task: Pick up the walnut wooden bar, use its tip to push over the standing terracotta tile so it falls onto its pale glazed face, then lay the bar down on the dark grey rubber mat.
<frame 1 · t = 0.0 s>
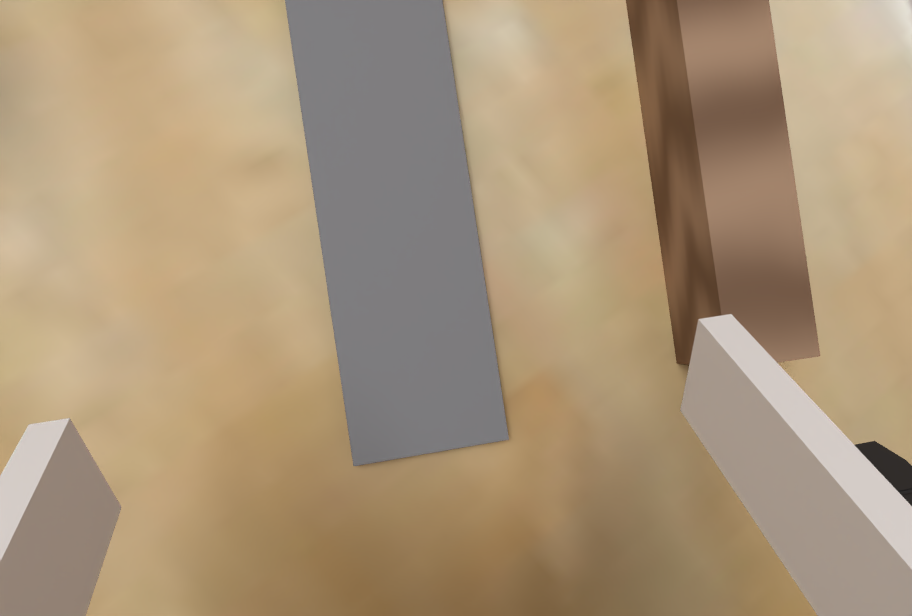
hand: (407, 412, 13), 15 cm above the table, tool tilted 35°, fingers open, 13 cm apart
walnut bar: (684, 156, 31), on the table
tool rest mat: (392, 192, 29), on the table
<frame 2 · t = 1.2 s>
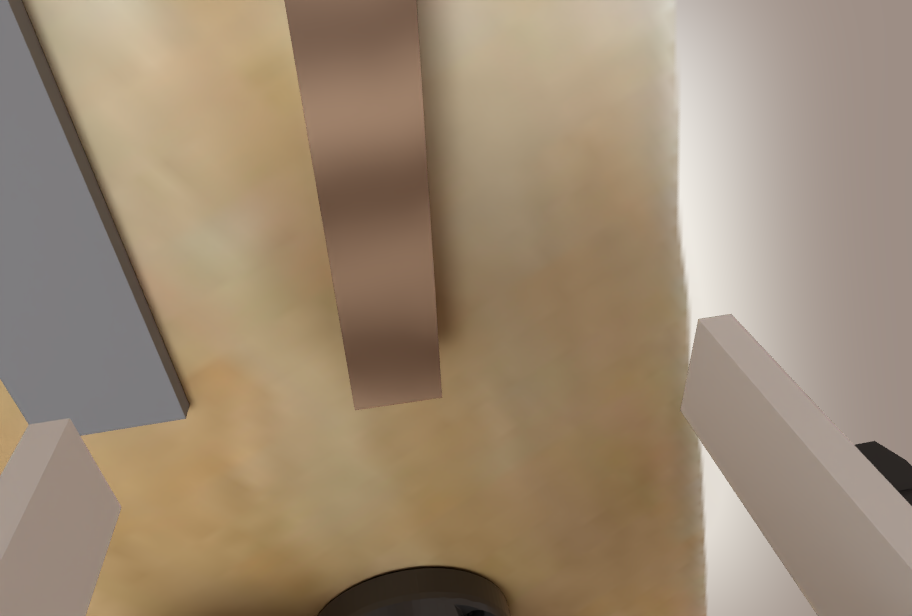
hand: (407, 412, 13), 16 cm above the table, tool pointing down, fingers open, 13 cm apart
walnut bar: (367, 155, 27), on the table
tool rest mat: (9, 201, 25), on the table
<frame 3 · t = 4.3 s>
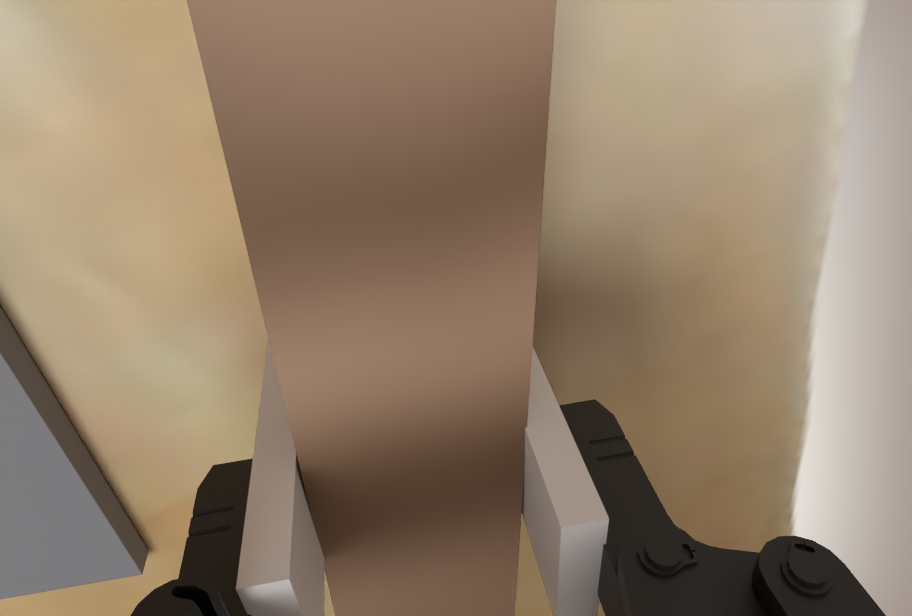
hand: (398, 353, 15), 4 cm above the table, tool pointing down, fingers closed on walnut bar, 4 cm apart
walnut bar: (395, 333, 16), point 4 cm above the table, touching gripper
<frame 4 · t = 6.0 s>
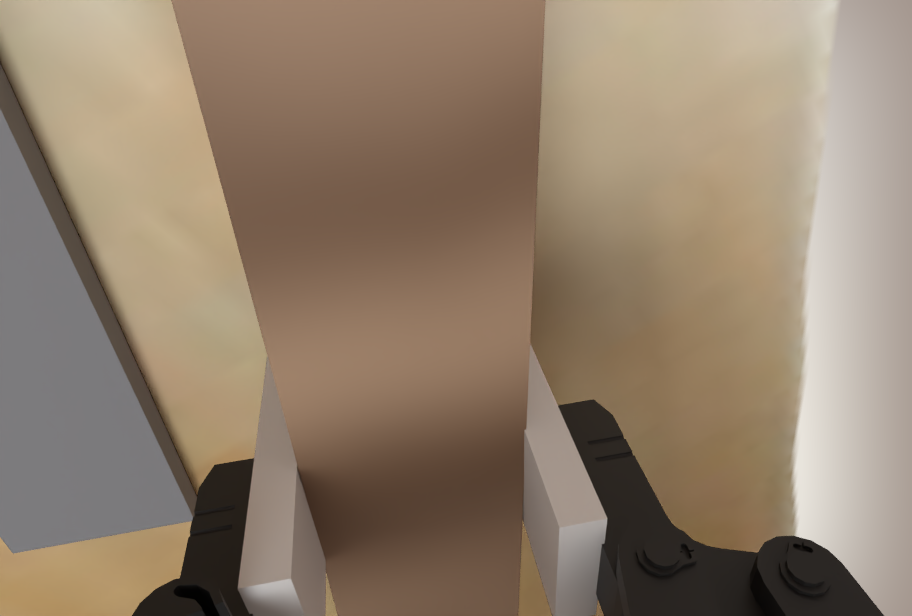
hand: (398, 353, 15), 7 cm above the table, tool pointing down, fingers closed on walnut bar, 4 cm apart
walnut bar: (395, 332, 16), point 6 cm above the table, touching gripper
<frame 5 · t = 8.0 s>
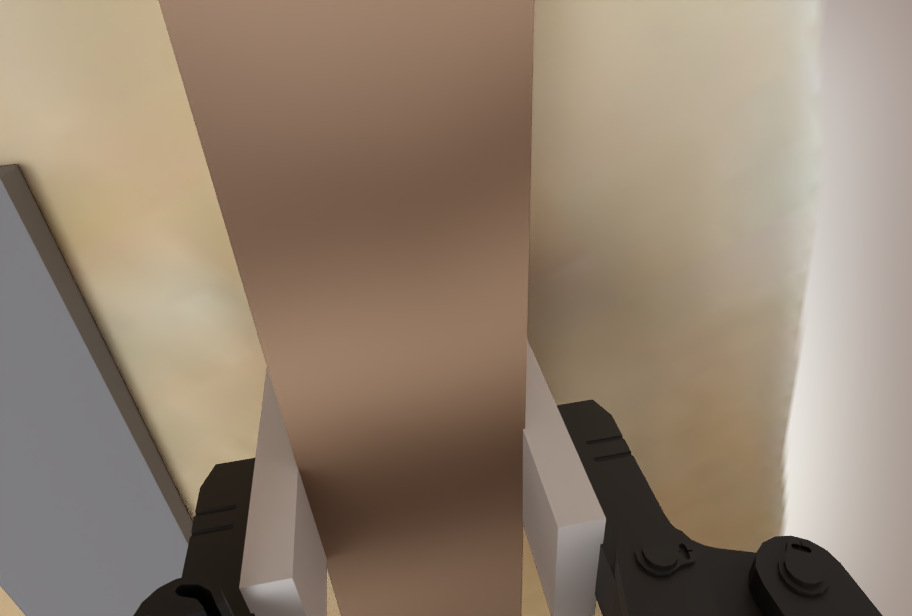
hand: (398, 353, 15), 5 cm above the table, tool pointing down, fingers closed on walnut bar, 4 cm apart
walnut bar: (395, 331, 16), point 5 cm above the table, touching gripper
tool rest mat: (69, 489, 23), on the table
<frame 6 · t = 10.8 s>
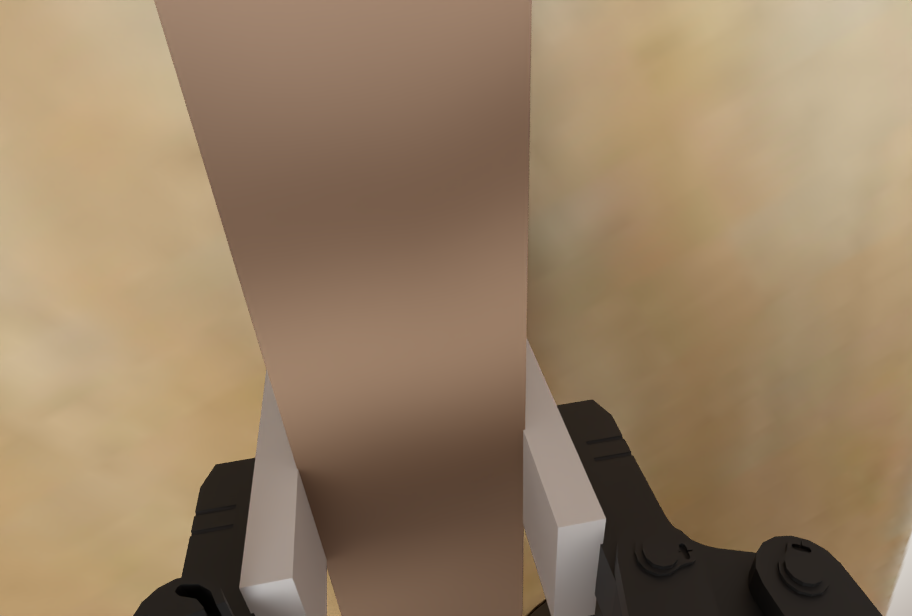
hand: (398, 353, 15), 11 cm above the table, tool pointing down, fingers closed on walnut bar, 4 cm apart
walnut bar: (394, 330, 16), point 10 cm above the table, touching gripper
when the fingers open (1 cm above the table, at t = 12.6 s): walnut bar stays where it is, resting on tool rest mat.
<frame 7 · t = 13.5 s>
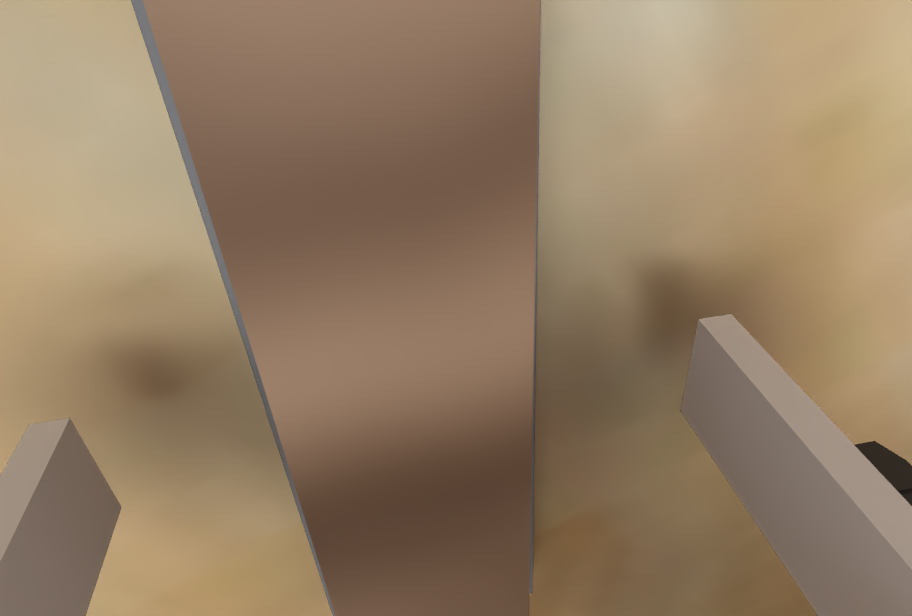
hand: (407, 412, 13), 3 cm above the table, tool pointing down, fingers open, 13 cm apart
walnut bar: (395, 336, 15), point 1 cm above the table, touching tool rest mat
tool rest mat: (394, 325, 16), on the table
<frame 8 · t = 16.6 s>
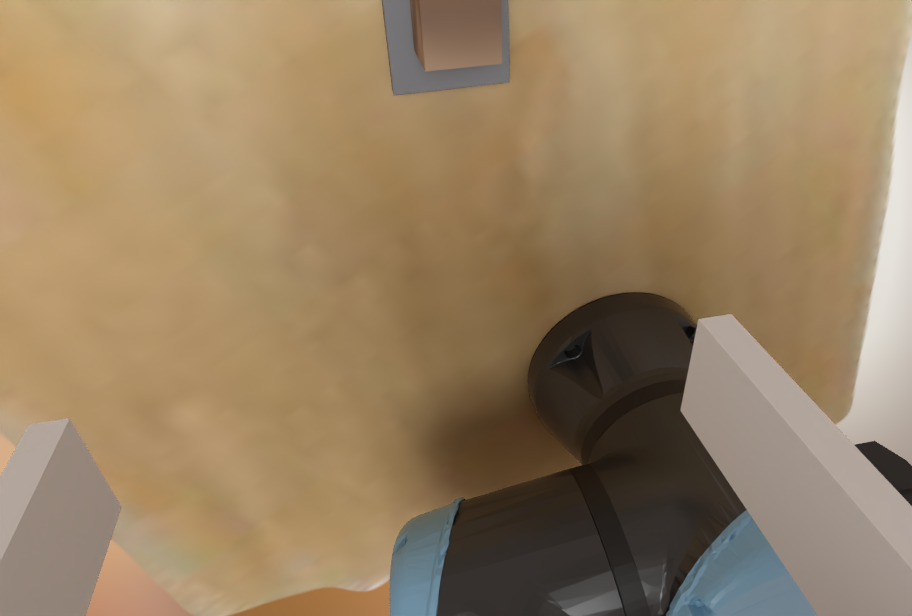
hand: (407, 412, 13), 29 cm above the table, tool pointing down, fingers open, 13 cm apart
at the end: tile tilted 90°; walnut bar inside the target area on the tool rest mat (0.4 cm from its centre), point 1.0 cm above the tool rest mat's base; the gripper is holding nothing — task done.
